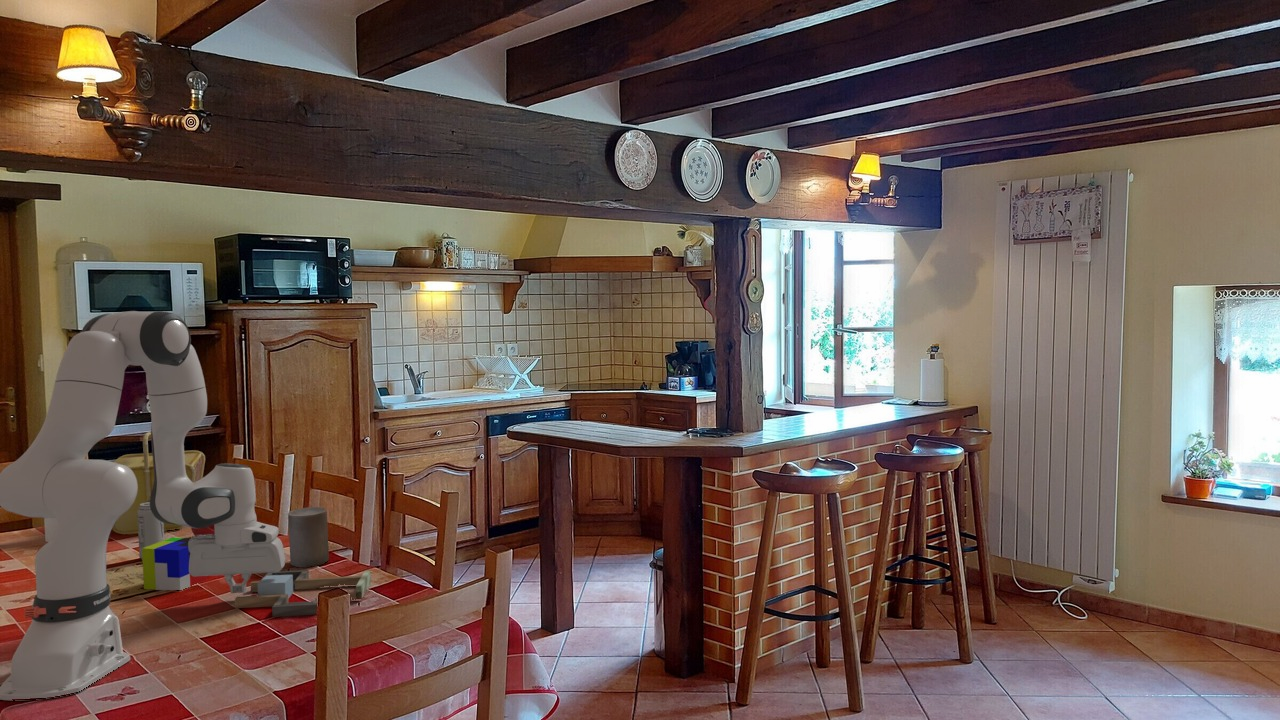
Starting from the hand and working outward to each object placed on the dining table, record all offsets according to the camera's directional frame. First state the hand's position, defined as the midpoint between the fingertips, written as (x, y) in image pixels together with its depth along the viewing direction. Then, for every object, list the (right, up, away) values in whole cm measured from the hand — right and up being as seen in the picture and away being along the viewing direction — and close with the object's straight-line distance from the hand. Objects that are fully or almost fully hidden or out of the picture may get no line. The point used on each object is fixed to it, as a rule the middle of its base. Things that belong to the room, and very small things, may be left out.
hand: (238, 592), depth 200 cm
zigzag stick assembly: (+14, -1, +2) cm, 14 cm away
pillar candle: (+5, 0, +29) cm, 29 cm away
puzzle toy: (-21, -1, +12) cm, 24 cm away
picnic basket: (-59, +2, +73) cm, 95 cm away
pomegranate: (-34, +1, +56) cm, 65 cm away
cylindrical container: (-78, +1, +56) cm, 96 cm away
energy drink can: (-39, 0, +34) cm, 52 cm away
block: (+8, -2, +1) cm, 8 cm away
